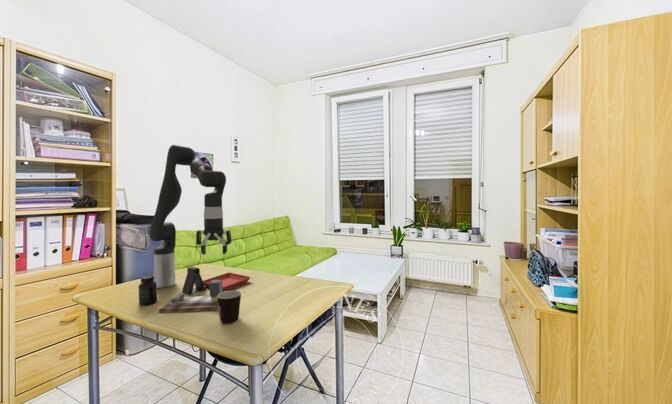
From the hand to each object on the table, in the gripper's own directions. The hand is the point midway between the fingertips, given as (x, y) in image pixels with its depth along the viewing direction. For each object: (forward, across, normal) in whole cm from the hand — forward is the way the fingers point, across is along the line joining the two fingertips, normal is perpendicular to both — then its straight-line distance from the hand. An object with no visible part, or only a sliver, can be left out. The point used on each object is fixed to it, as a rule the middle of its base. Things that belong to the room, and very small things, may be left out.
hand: (214, 254), depth 124 cm
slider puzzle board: (+22, +6, +1) cm, 23 cm away
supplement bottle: (+23, +30, -3) cm, 38 cm away
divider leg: (+20, -1, +1) cm, 20 cm away
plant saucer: (+23, +3, -26) cm, 35 cm away
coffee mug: (+22, -11, +18) cm, 31 cm away
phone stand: (+23, +16, -17) cm, 33 cm away
